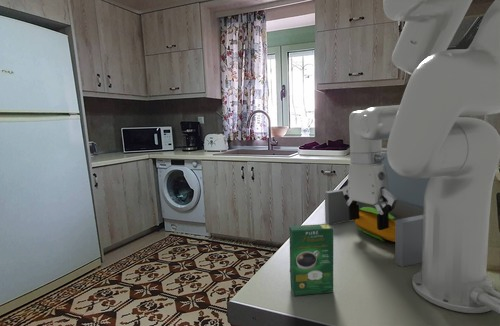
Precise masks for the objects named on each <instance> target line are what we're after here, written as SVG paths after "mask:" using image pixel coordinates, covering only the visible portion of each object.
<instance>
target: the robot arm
mask: <svg viewBox="0 0 500 326" xmlns="http://www.w3.org/2000/svg"><path fill="white" fill-rule="evenodd" d="M472 2H473V0H382V6H383V7H382V8H383V12H384V15H385V17H386V18H388V19H389V20H391V21H395V22H405V23H404V25H403V28H402V30H401V32H400V35H399V36H398V37H399V38H398V40H397V42H396V44H395V47H394V50H393V51H392V55H391V62H392V63H393V65H394V66H395V67H396V68H398V69H399V70H401V71H402V72H405V73H406V74H408V75H409V76H410V77H409V79H408V82H407V85H406V87H405V90H404V92H403V95H402V98H401V101H400V104H397V105H394V104H393V105H383V106H373V107H368V108H366V109H362V110H355V111H352V112H351V113H350V114H349V117H348V123H349V124H348V125H349V127H348V129H349V131H348V132H349V150H350V151H349V155H350V157H349V158H350V164H349V166H348V175H347V185H345V186H343V187H342V188H341V189H342V191H343V194H344V198H345V200H346V201H347V205H348V206H349V220H351V221H354V220H355V219H359V204H357V203H358V202H361V203H365V204H370V205H375V207H376V209H377V210H378V212H379V214H377V229H378V230H383V229H387V228H388V227H389V218H388V213H390V212H391V210H393V209H394V207H395V206H394V205H395V204H396V202H397V198H396V197H395V196H394V195H393V194H391V193H390V192H389V182H388V176H387V171H386V167H385V164H382V161H383V160H384V156H383V155H382V152H383V149H382V145H383V143H382V141H383V140H387V143H386V144H387V146H386V153H387V158H388V162H389V164H390V166H391V168H392V169H393V171H394V172H396V173H397V174H398V175H400V176H402V177H405V178H410V179H422V178H430V180H429V182H428V184H427V187H426V190H425V194H424V206H423V247H422V262H421V270H419V271H418V272H416V273H415V274H413V276H412V278H411V279H412V282H411V283H412V284H411V285H412V287H413V289H414V291H415V292H416V293H417V294H418V295H419V296H420V297H422V299H424V300H426V301H428V302H430V303H431V304H434V305H436V306H438V307H441V308H444V309H446V310H450V311H454V312H459V313H464V314H465V313H466V314H483V313H486V312H489V311H494V312H495V313H497V314H499V315H500V292H498V291H496V290H495V288H494V278H491V276H490V277H489V276H487V268H488V267H487V266H488V265H487V264H488V251H489V249H488V247H489V230H490V214H491V201H492V192H493V184H494V181H495V176H496V171H497V169H498V166H499V162H500V134H499V133H498V131H497V129H496V128H495V127H494V126H493V125H492V124H490V123H489V122H487V121H486V120H483V119H480V118H476V117H477V116H486V115H487V116H488V115H495V114H500V0H494V1H493V2H492V4H491V5H490V6H489V7H488V9H487V10H486V12H485V14H484V15H483V17H482V19H481V22H480V24H479V27H478V30H477V32H476V34H475V35H474V37H473V40H472V42H471V43H470V44H469V46H468V48H465V49H463V48H461V49H457V48H456V49H448V48H449V46H450V44H451V42H452V41H453V38H454V36H455V34H457V33H456V32H457V31H458V29H459V27H460V25H461V23H462V21H463V19H464V17H465V15H466V14H467V12H468V10H469V9H470V6H471V4H472ZM387 202H388V204H387ZM381 205H382V206H383V209H382V207H381Z"/></svg>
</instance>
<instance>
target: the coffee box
mask: <svg viewBox="0 0 500 326" xmlns="http://www.w3.org/2000/svg"><path fill="white" fill-rule="evenodd" d="M288 228H289V275H290V276H289V278H290V279H289V281H290V290H291V293H292V295H293V297H295V296H305V295H320V294H323V295H324V294H329V293H330V294H331V293H334V228H333V226H332V225H331V224H327V223H320V224H319V223H318V224H307V225H306V224H303V225H301V224H300V225H289V227H288Z"/></svg>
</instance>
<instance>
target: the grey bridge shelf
mask: <svg viewBox="0 0 500 326" xmlns="http://www.w3.org/2000/svg"><path fill="white" fill-rule="evenodd" d="M357 204H359V209H360V208H362V207H371V208H375V209H376V207H375V205H370V204H365V203H361V202H358V203H357ZM387 204H388V202H387ZM394 206H395V207H394V209H393V210H391V212H390V213H389V214H390V215H392V216H393V217H394V221H396V228H395V244H394V245H395V246H394V248H395V250H394V255H395V256H394V263H395V264H396V265H398V266H399V267H401V268H404V267H409V266H412V265H417V264H420V263H421V264H422V247H423V207H421V206H417V205H414V204H411V203H408V202H404V201H401V200H398V199H397V202H396V204H395V205H394ZM381 207H382V209H383V206H382V205H381ZM324 217H325V218H324V219H325V222H324V224H329V225H333V224H339V223H345V222H350V221H352V220H349V206H348V205H347V201H346V200H345V198H344V194H343V191H342V188H340V189H335V190H327V191H324Z"/></svg>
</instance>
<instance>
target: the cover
mask: <svg viewBox="0 0 500 326" xmlns="http://www.w3.org/2000/svg"><path fill="white" fill-rule="evenodd" d="M382 155H383V156H384V160H383V161H382V164H385V167H386V171H387V176H388V182H389V192H390V193H391V194H393V195H394V196H395V197H396V198H397V199H398V200H401V201H404V202H408V203H411V204H414V205H417V206H421V207H423V206H424V194H425V190H426V187H427V184H428V182H429V180H430V178H422V179H410V178H405V177H402V176H400V175H398V174H397V173H396V172H394V171H393V169H392V168H391V166H390V164H389V162H388V158H387V152H383V151H382Z"/></svg>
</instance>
